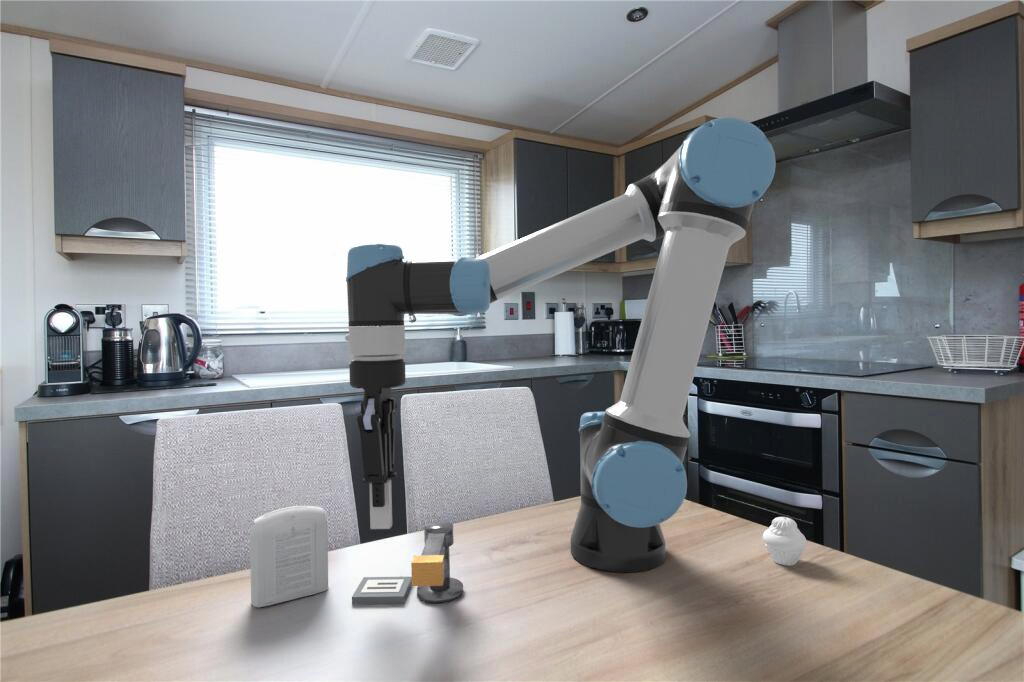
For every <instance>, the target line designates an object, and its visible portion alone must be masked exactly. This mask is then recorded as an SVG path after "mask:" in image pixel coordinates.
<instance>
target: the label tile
mask: <svg viewBox="0 0 1024 682" xmlns="http://www.w3.org/2000/svg"><path fill="white" fill-rule="evenodd" d="M411 587H412V576H364V577H362V579H361V581H360V583H359V584H358V585H357V588H356V589H355V591H354V593H353V594H352V596H351V605H394V604H395V605H397V604H398V605H400V604H401V605H402V604H405V601H406V600H407V597H408V595H409V592H410V590H411Z"/></svg>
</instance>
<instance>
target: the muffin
mask: <svg viewBox="0 0 1024 682" xmlns="http://www.w3.org/2000/svg"><path fill="white" fill-rule="evenodd" d="M762 540H763V542H764V546H765V548H766V549H767V551H768V553H769V555H770V557H771V559H772V561H773V562H774V563H776V564H778V565H781V566H786V567H787V566H795V565H796V564H797V562H798V560H800V558H801V556H802V555H803V553H804V552H805V548H806V546H807V539H806V537H805V535H804V534H803V533H802V532H801V531H800V529H799V528H798V524H797V522H796V521H795V520H794V519H792V518H791V517H786V516H778V517H775V518H774V519H772V520H771V525H770V526H769V527H768V528H767V529H766V530H764V531H763V534H762Z"/></svg>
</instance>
